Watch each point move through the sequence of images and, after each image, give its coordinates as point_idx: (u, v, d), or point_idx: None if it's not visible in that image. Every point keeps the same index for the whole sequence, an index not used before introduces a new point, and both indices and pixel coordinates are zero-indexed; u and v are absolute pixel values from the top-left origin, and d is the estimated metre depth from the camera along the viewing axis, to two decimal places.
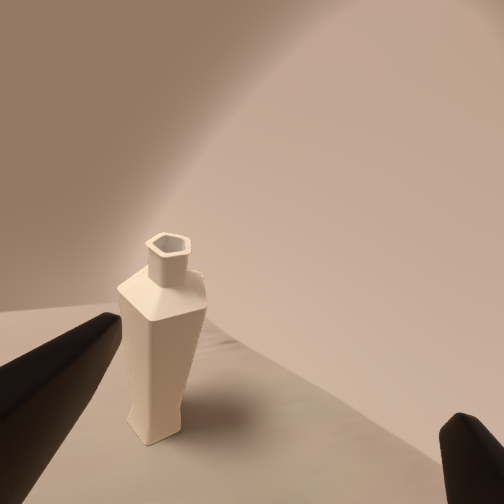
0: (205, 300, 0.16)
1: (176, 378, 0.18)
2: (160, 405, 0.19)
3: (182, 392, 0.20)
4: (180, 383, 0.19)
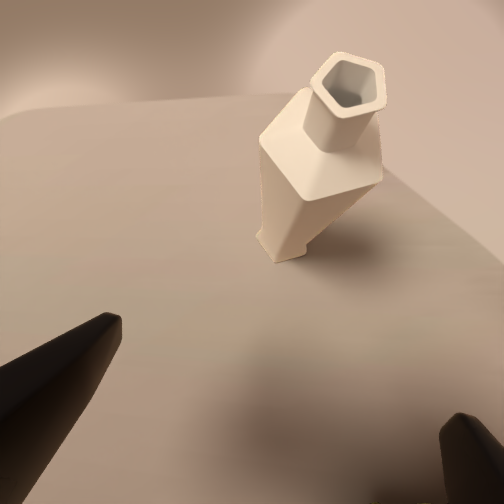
0: (380, 169, 0.11)
1: (315, 229, 0.16)
2: (293, 243, 0.19)
3: (316, 235, 0.18)
4: (317, 232, 0.17)
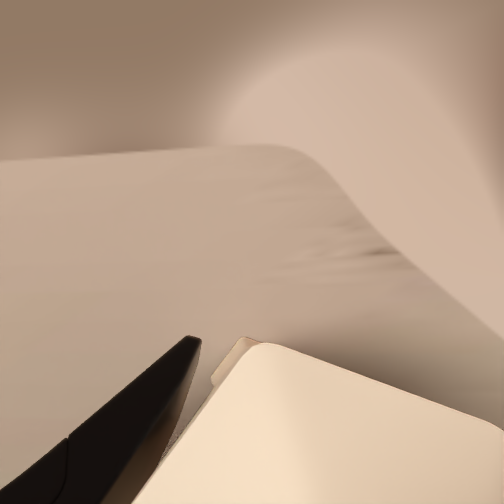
0: None
1: None
2: None
3: None
4: None
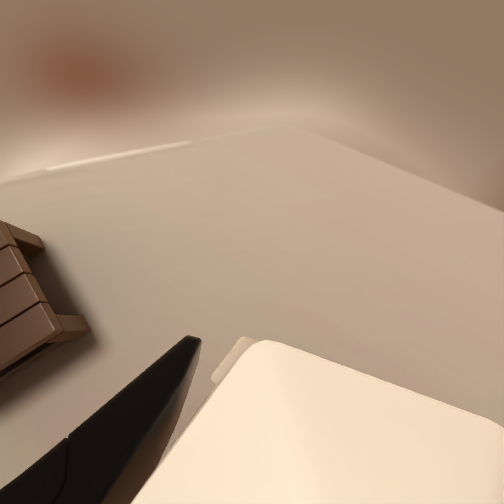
0: None
1: None
2: None
3: None
4: None
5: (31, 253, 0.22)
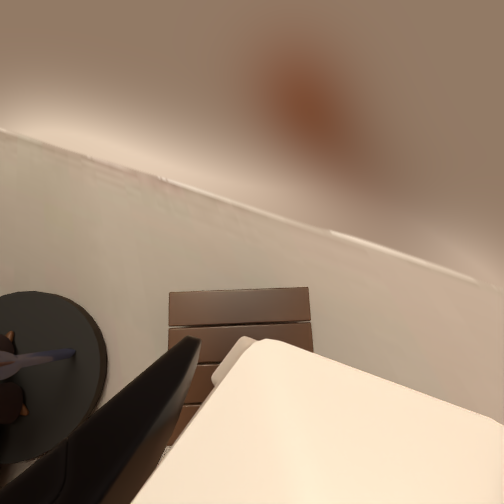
0: None
1: None
2: None
3: None
4: None
5: None
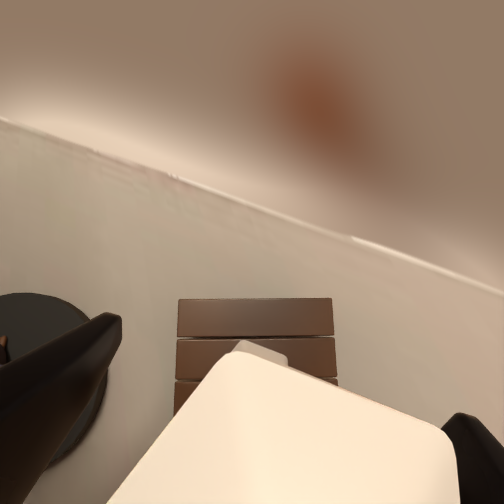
0: None
1: None
2: None
3: None
4: None
5: None
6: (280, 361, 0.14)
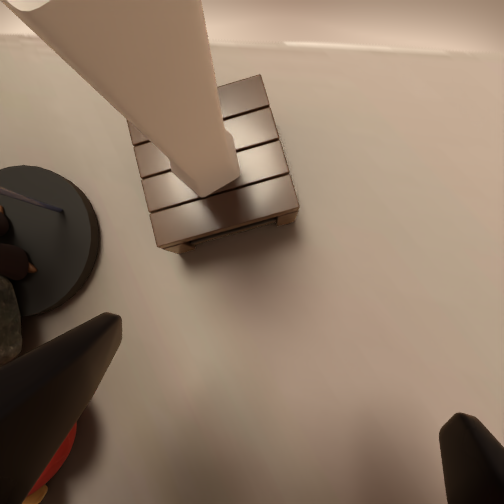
0: None
1: (200, 123, 0.11)
2: (195, 159, 0.13)
3: (222, 137, 0.13)
4: (212, 128, 0.11)
5: None
6: None
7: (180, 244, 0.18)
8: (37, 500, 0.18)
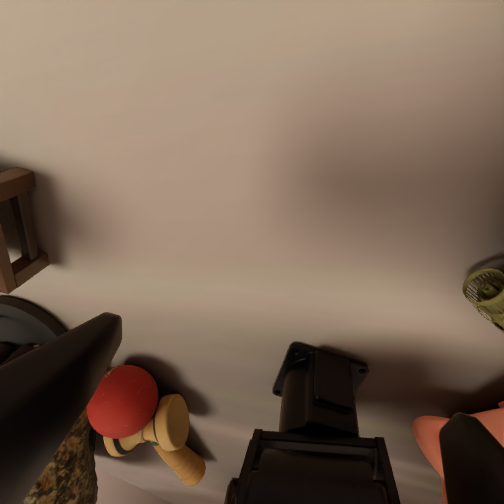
0: None
1: None
2: None
3: None
4: None
5: None
6: None
7: (16, 275, 0.23)
8: (166, 405, 0.29)
